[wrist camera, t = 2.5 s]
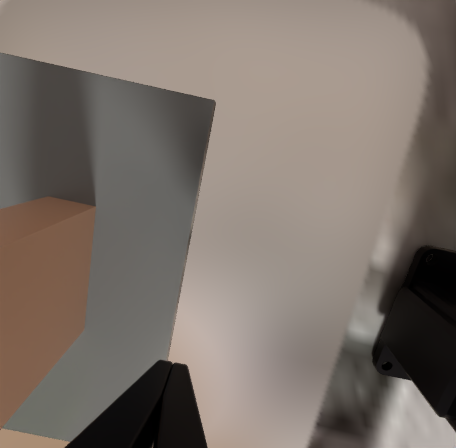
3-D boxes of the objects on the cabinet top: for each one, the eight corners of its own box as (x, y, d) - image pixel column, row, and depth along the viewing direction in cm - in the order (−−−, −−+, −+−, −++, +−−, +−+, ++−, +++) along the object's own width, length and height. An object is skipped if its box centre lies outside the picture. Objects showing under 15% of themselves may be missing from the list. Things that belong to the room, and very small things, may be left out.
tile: (95, 206, 12) (-83, 283, 5) (84, 329, 14) (-66, 508, 7) (44, 195, 12) (-201, 258, 5) (38, 320, 14) (-157, 491, 7)
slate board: (215, 103, 12) (214, 100, 11) (152, 442, 16) (147, 457, 16) (-188, 13, 11) (-219, 4, 11) (-136, 385, 16) (-154, 397, 15)
